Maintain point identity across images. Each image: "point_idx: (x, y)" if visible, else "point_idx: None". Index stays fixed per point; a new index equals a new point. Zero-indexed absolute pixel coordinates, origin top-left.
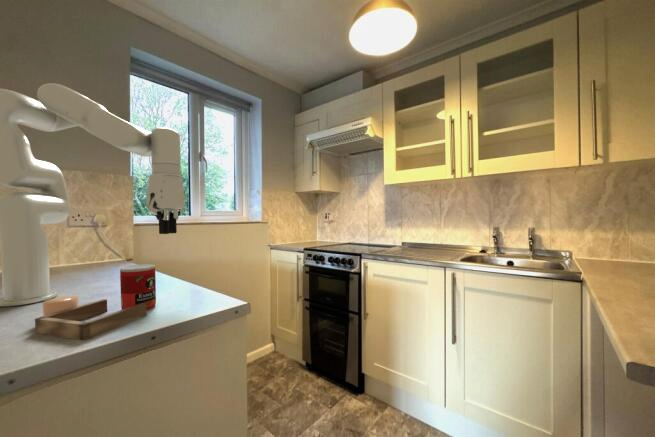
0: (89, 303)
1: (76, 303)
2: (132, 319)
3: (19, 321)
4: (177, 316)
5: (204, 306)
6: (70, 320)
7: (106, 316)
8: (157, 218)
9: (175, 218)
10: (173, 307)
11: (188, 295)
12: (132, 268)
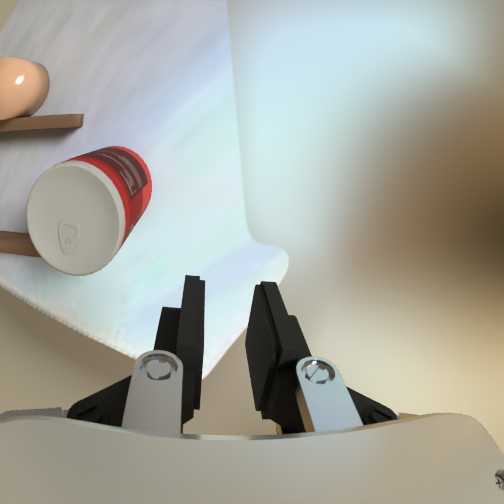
0: (38, 119)
1: (17, 112)
2: None
3: (22, 15)
4: (98, 312)
5: None
6: None
7: (2, 250)
8: (129, 376)
9: (277, 426)
10: (138, 269)
11: (240, 239)
12: (61, 206)
